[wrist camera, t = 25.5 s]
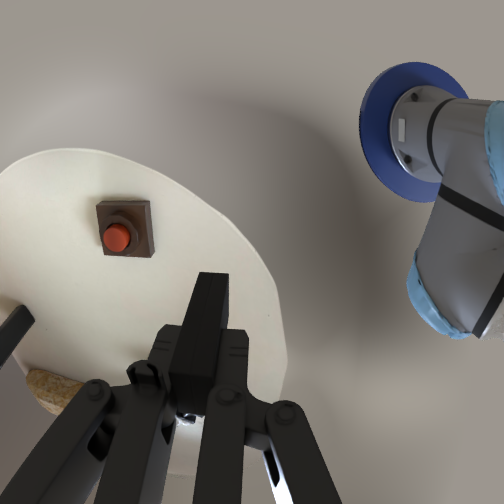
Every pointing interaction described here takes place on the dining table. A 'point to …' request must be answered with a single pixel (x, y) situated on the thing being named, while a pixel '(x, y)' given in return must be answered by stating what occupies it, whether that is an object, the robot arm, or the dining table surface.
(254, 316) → the dining table surface
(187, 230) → the dining table surface
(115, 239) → the button
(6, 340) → the wine bottle
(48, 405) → the bread
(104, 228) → the button block
